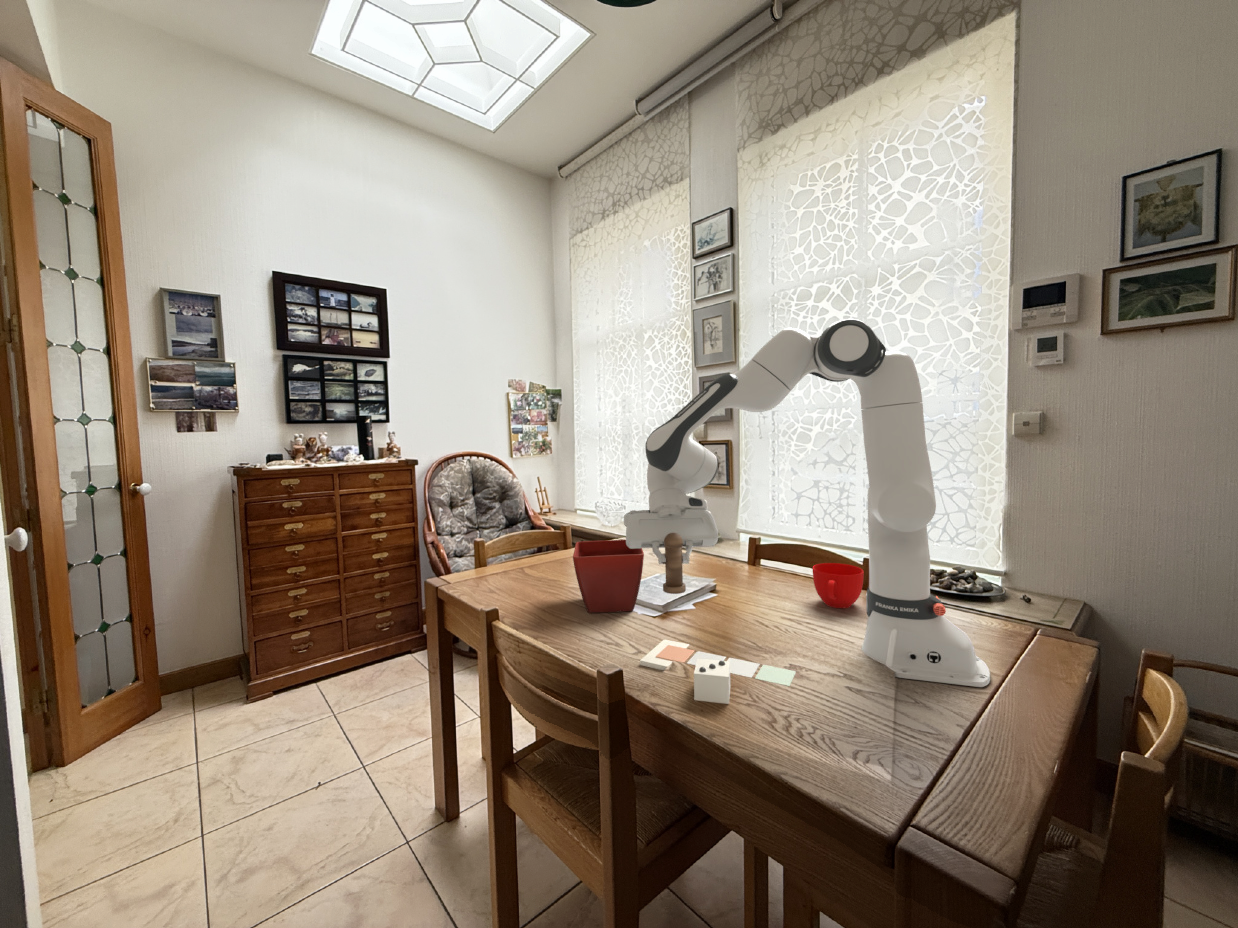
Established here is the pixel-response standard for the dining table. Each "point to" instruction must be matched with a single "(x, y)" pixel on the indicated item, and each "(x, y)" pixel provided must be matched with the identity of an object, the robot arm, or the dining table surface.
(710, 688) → the die
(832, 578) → the ceramic cup
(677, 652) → the game board
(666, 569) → the pawn
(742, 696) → the dining table surface
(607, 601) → the plant pot
